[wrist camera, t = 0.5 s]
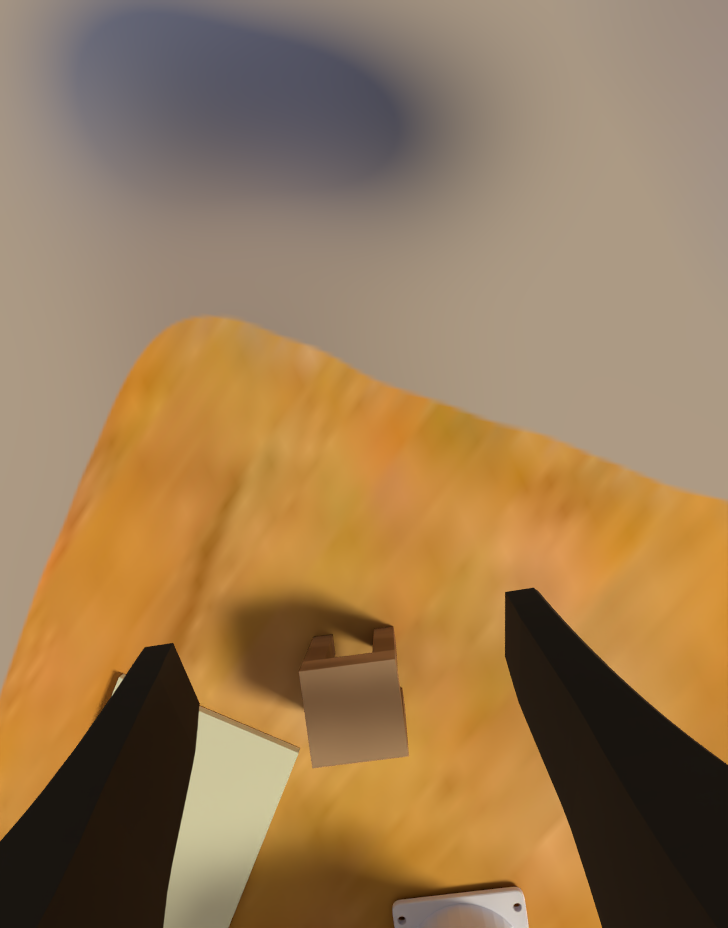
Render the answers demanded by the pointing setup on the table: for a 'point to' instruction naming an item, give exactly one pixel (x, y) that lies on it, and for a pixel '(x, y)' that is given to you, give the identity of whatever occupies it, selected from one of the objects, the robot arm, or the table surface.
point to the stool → (353, 703)
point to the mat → (223, 818)
